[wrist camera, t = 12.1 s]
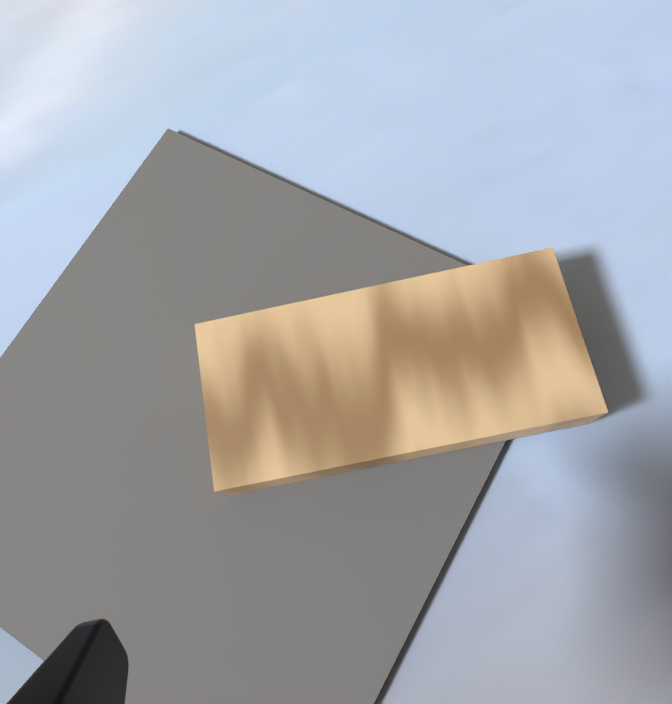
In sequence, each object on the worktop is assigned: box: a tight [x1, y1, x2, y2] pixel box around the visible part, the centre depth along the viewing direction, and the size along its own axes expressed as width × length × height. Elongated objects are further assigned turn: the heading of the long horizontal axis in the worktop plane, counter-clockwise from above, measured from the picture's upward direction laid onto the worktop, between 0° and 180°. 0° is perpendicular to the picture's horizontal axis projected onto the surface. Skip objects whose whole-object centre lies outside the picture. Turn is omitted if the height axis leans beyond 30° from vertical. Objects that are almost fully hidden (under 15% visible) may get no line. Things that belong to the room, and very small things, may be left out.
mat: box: [0, 129, 506, 704], centre depth 22 cm, size 19×20×1 cm
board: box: [195, 248, 608, 496], centre depth 21 cm, size 6×2×13 cm
